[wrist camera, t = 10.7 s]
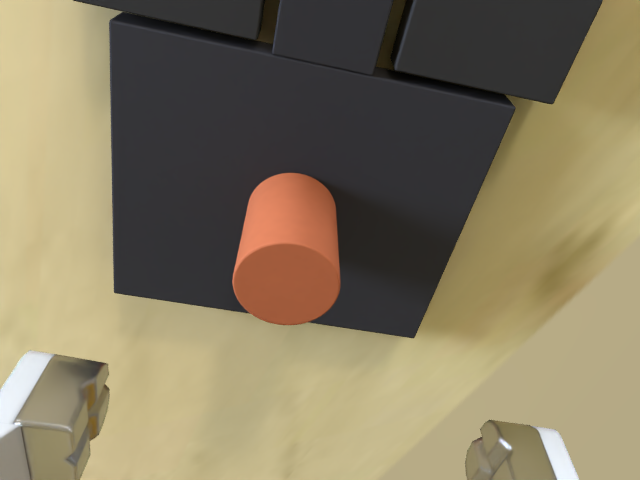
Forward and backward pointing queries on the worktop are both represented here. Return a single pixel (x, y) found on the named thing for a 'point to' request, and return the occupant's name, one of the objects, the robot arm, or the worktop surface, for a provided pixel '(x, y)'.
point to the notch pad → (436, 37)
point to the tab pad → (290, 168)
